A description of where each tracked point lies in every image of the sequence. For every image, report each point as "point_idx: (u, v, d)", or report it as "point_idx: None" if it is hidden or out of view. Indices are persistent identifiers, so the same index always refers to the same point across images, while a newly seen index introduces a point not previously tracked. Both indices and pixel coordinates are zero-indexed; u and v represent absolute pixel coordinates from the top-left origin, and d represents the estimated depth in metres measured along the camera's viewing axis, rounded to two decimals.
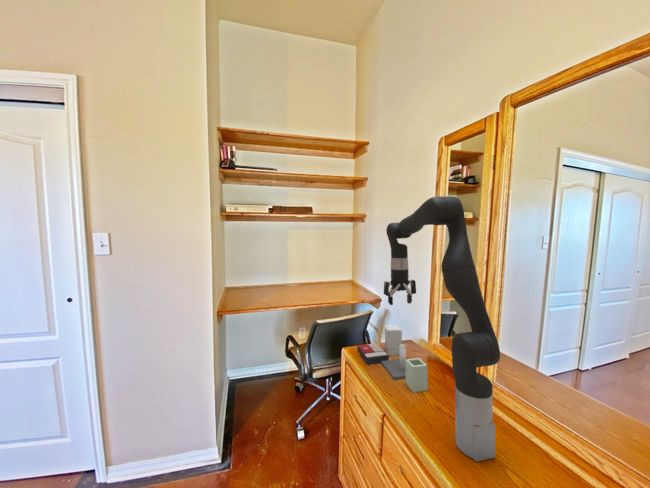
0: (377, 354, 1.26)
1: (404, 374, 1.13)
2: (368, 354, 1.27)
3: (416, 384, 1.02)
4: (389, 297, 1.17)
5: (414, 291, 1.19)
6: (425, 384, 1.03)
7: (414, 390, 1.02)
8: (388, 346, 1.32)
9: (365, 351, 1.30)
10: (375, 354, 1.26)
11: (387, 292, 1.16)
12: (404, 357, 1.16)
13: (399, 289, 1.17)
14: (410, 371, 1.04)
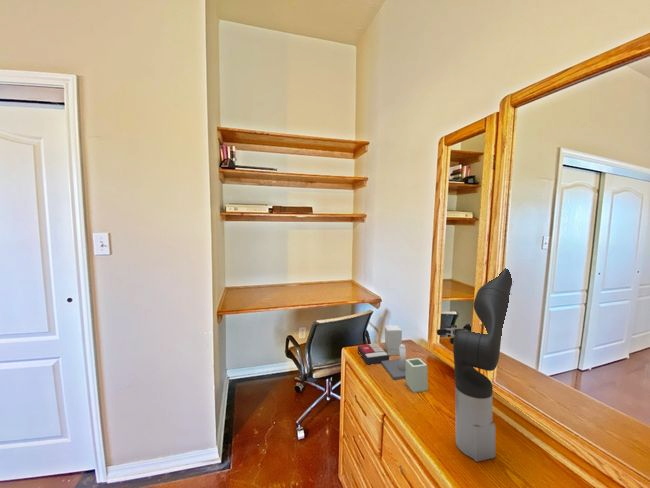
0: (377, 354, 1.26)
1: (404, 374, 1.13)
2: (368, 354, 1.27)
3: (416, 384, 1.02)
4: (443, 329, 1.13)
5: None
6: (425, 384, 1.03)
7: (414, 390, 1.02)
8: (388, 346, 1.32)
9: (365, 351, 1.30)
10: (375, 354, 1.26)
11: (446, 326, 1.14)
12: (404, 357, 1.16)
13: None
14: (410, 371, 1.04)
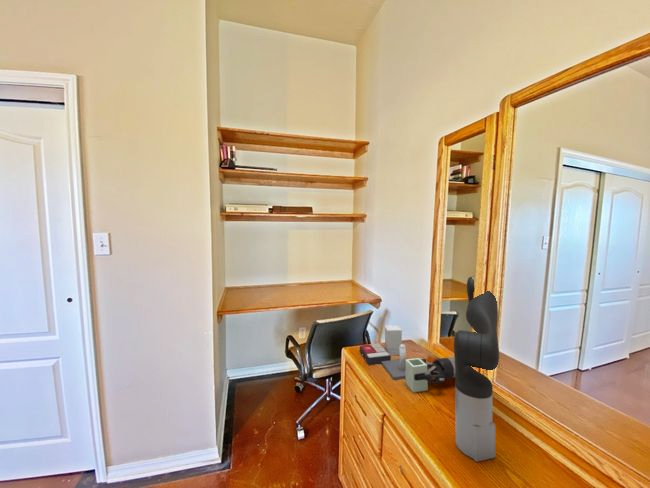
0: (379, 354, 1.26)
1: (404, 374, 1.13)
2: (370, 354, 1.27)
3: (416, 384, 1.02)
4: None
5: (430, 375, 1.01)
6: (425, 384, 1.03)
7: (414, 390, 1.02)
8: (388, 346, 1.32)
9: (367, 351, 1.30)
10: (377, 354, 1.26)
11: None
12: (404, 357, 1.16)
13: (427, 367, 1.07)
14: (410, 371, 1.04)
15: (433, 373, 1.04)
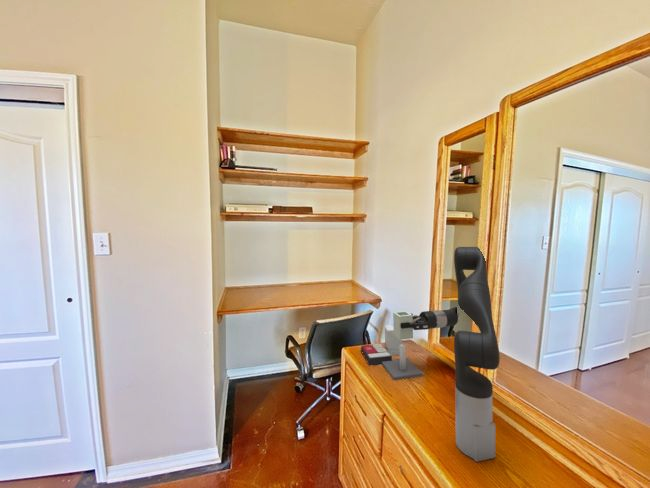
0: (380, 355, 1.26)
1: (404, 374, 1.13)
2: (371, 354, 1.26)
3: (402, 332, 1.13)
4: None
5: (415, 323, 1.11)
6: (411, 332, 1.13)
7: (400, 338, 1.13)
8: (388, 346, 1.32)
9: (368, 351, 1.29)
10: (378, 355, 1.26)
11: None
12: (404, 357, 1.16)
13: (413, 318, 1.17)
14: (397, 321, 1.14)
15: (418, 323, 1.14)
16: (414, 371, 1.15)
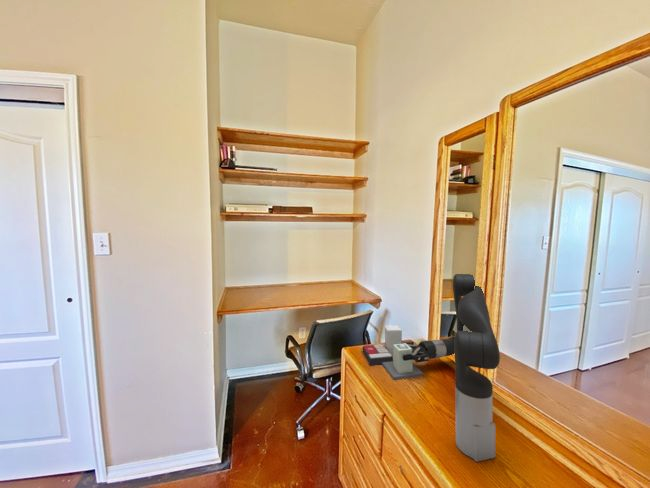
0: (381, 355, 1.25)
1: (404, 374, 1.13)
2: (372, 355, 1.26)
3: (402, 366, 1.14)
4: None
5: (417, 355, 1.11)
6: (410, 366, 1.14)
7: (400, 371, 1.14)
8: (388, 346, 1.32)
9: (369, 352, 1.29)
10: (379, 355, 1.25)
11: None
12: None
13: (412, 348, 1.18)
14: (397, 355, 1.15)
15: (418, 353, 1.15)
16: (414, 371, 1.15)
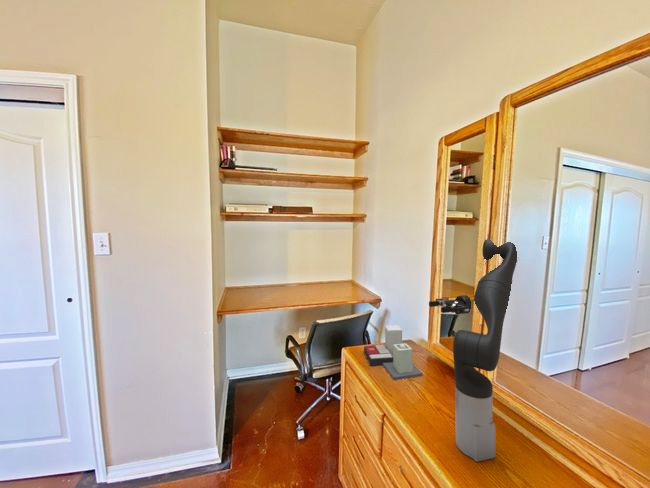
0: (382, 356, 1.25)
1: (404, 374, 1.13)
2: (373, 355, 1.26)
3: (402, 366, 1.14)
4: None
5: (457, 307, 1.05)
6: (410, 366, 1.14)
7: (400, 371, 1.14)
8: (389, 346, 1.32)
9: (370, 352, 1.29)
10: (380, 356, 1.25)
11: (439, 299, 1.17)
12: None
13: (449, 302, 1.12)
14: (397, 355, 1.15)
15: (457, 306, 1.08)
16: (414, 371, 1.15)
